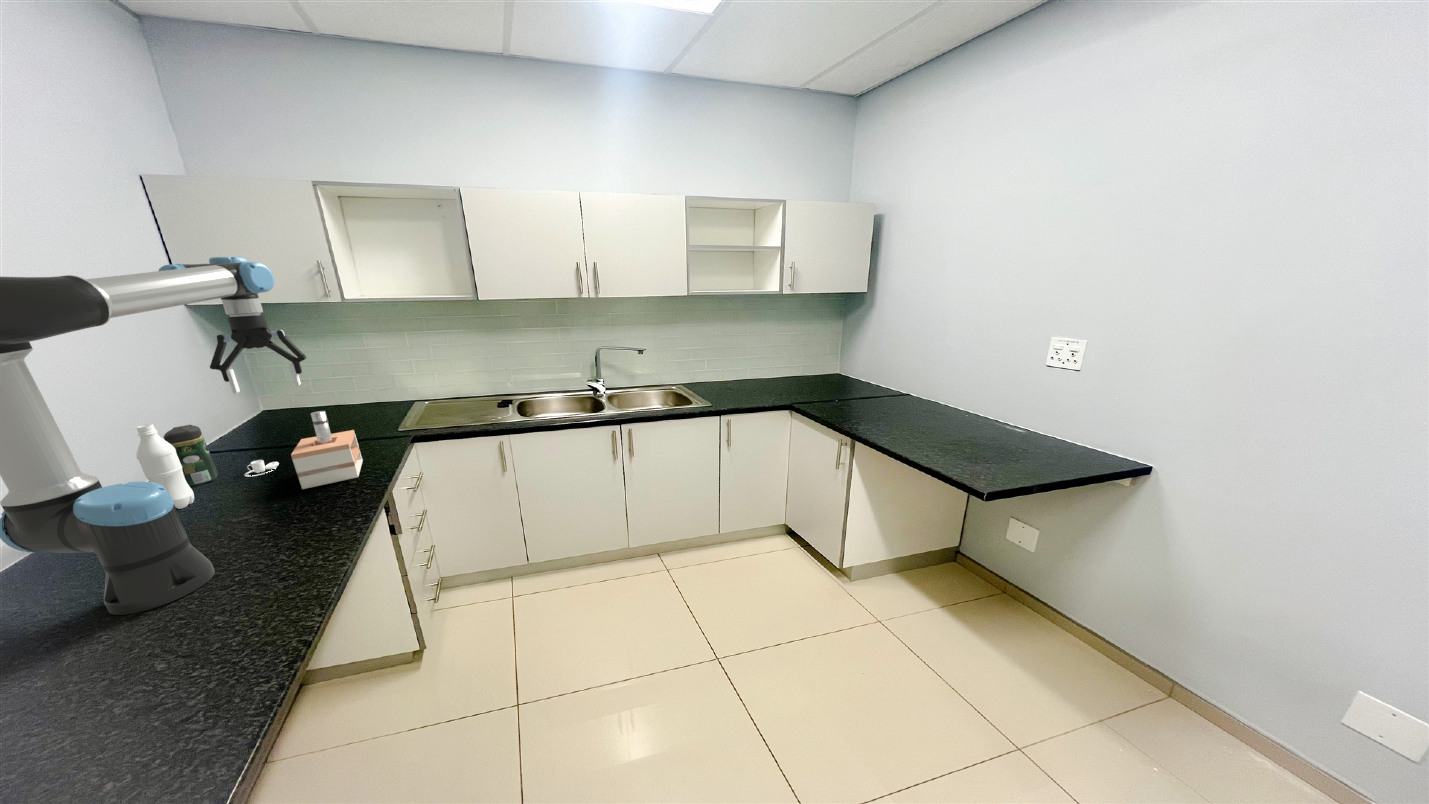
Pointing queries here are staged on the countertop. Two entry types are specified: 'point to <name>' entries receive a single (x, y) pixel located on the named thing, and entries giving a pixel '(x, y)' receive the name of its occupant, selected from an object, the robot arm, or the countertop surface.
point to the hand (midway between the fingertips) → (268, 388)
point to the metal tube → (321, 427)
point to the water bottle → (163, 465)
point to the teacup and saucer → (260, 467)
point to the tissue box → (327, 460)
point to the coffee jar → (192, 454)
